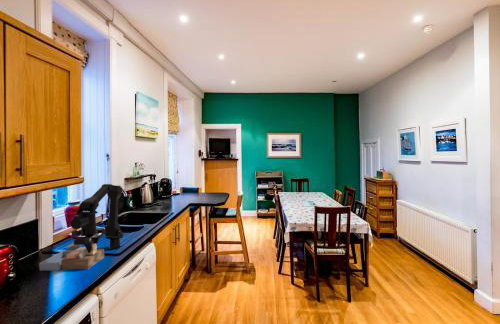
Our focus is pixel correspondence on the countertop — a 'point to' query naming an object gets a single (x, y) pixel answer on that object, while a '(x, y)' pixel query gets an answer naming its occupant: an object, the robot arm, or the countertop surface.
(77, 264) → the brown square tray
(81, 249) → the tile cream
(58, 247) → the countertop surface
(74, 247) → the cleaver
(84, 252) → the scraper
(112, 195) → the robot arm
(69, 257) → the tile terracotta
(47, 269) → the box
